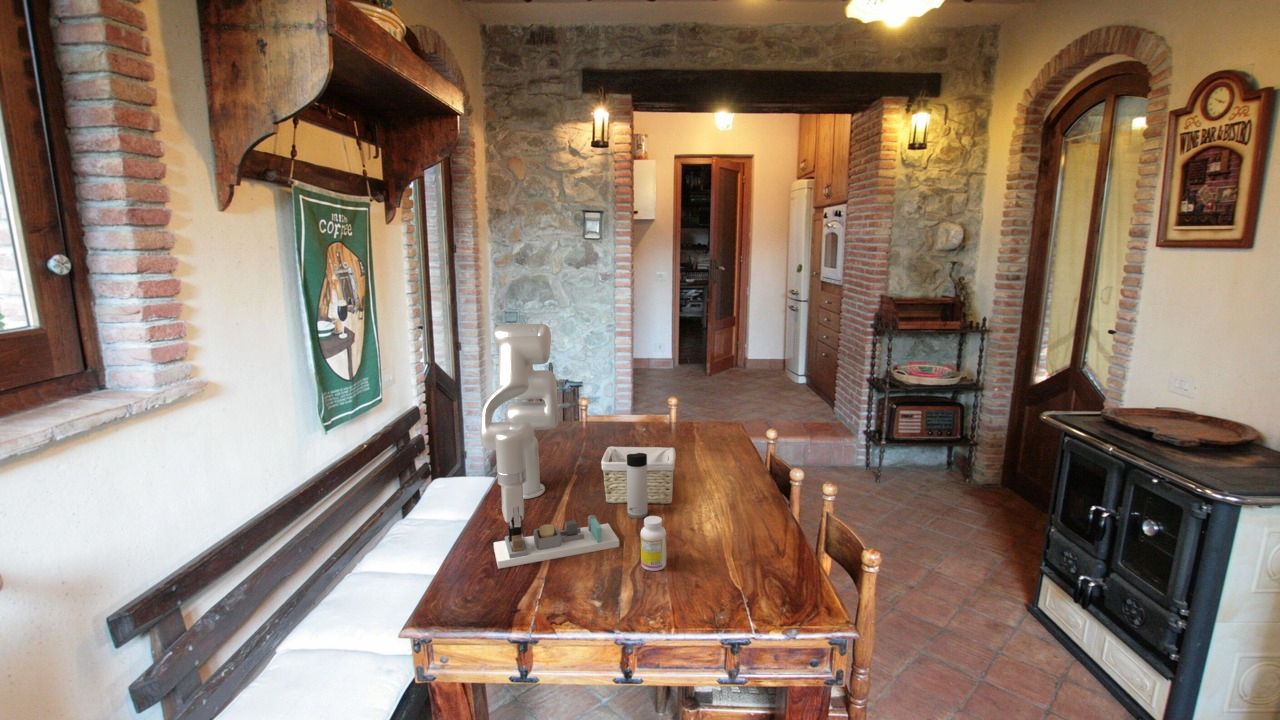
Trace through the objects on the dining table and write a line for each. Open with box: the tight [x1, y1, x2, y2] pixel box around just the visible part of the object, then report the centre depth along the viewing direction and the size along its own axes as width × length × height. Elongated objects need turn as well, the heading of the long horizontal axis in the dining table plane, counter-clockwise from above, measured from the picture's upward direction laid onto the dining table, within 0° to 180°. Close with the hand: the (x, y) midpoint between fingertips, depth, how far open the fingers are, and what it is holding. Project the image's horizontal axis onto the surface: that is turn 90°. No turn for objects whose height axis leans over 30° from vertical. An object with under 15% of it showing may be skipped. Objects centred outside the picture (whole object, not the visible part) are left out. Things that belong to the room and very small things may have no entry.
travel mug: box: [626, 453, 649, 519], centre depth 183 cm, size 6×7×20 cm
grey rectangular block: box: [564, 519, 578, 537], centre depth 167 cm, size 2×3×4 cm
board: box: [493, 522, 620, 570], centre depth 164 cm, size 11×33×6 cm, turn 109°
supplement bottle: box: [640, 515, 667, 572], centre depth 154 cm, size 7×7×13 cm
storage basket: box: [600, 445, 677, 505], centre depth 198 cm, size 24×16×15 cm
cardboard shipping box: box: [512, 535, 523, 552], centre depth 158 cm, size 3×2×4 cm
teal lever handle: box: [587, 514, 602, 542], centre depth 167 cm, size 9×2×4 cm, turn 19°
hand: (515, 539), depth 161 cm, fingers closed
